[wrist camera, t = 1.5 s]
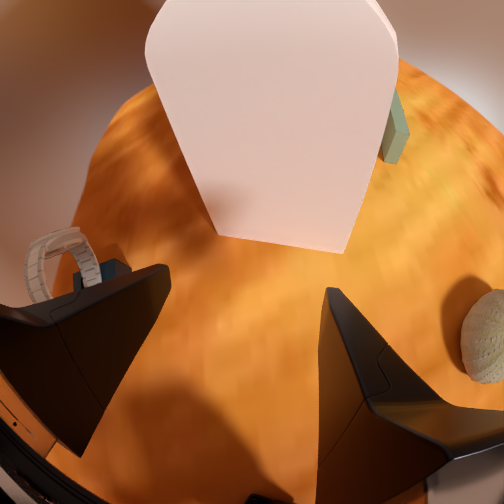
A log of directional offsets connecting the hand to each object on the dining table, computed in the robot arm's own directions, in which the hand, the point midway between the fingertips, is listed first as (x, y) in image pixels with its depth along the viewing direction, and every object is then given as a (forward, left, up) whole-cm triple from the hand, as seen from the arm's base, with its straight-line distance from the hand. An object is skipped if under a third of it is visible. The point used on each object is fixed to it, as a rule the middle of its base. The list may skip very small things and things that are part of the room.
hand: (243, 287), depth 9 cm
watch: (-4, +15, -14) cm, 21 cm away
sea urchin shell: (+6, -22, -14) cm, 26 cm away
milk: (+13, +3, -14) cm, 19 cm away
